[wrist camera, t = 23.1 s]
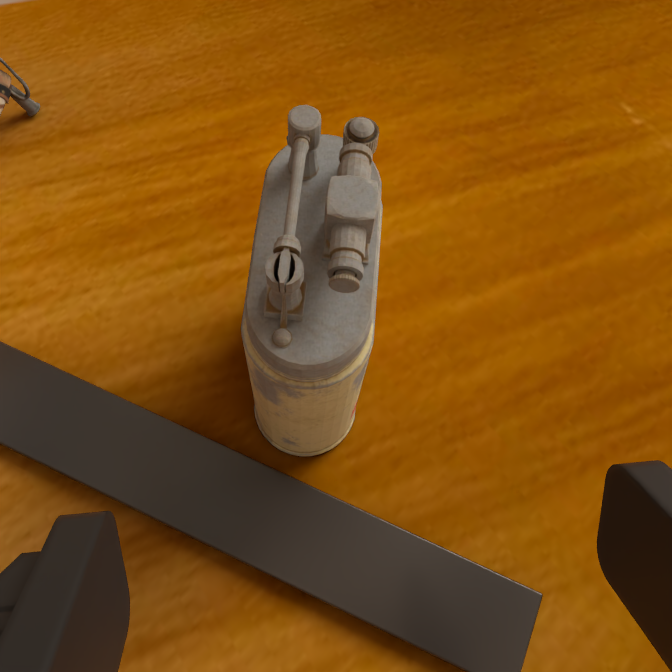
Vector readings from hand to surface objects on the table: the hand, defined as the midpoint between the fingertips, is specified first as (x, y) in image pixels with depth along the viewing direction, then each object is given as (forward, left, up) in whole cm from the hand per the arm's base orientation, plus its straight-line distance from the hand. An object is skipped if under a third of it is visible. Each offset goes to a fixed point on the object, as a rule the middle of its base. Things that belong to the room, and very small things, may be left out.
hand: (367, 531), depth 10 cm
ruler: (-3, +3, -11) cm, 11 cm away
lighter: (+1, +7, -11) cm, 13 cm away
